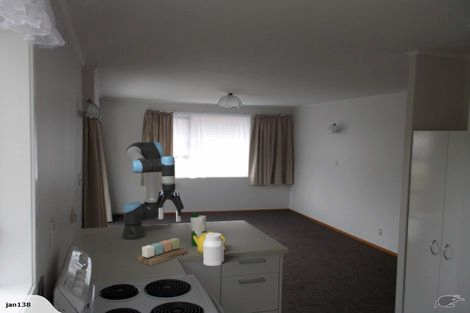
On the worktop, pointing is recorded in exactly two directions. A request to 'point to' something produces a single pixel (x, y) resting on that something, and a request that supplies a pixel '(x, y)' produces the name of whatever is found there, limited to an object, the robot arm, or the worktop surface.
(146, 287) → the worktop surface
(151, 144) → the robot arm
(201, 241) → the teapot
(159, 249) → the key teal
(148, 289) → the worktop surface
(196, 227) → the milk carton
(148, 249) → the key cream
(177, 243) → the key olive
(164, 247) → the key terracotta
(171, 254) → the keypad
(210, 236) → the jar
